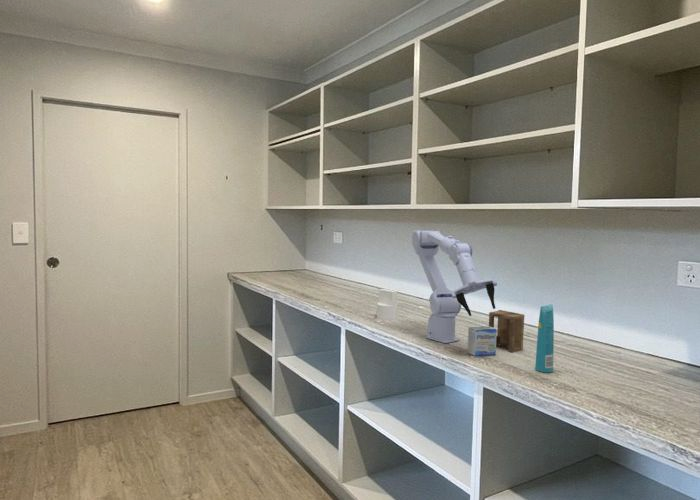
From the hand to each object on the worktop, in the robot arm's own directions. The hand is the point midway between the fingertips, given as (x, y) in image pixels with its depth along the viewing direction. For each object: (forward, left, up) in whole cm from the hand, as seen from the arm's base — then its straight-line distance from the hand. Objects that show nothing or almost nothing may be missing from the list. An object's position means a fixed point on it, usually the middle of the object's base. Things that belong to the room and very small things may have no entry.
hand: (482, 311), depth 153 cm
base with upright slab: (-61, +17, -15) cm, 65 cm away
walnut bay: (-2, +17, -15) cm, 23 cm away
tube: (+19, +5, -15) cm, 24 cm away
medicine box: (-2, +4, -15) cm, 16 cm away
